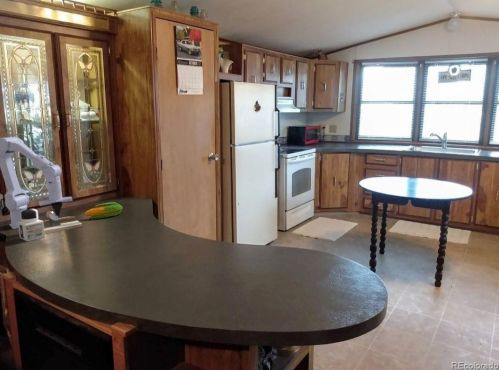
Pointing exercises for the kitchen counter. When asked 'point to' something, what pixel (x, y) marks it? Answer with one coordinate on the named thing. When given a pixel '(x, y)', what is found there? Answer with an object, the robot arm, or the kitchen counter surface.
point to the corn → (104, 210)
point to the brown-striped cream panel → (61, 224)
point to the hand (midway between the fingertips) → (57, 217)
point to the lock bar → (52, 215)
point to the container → (30, 225)
